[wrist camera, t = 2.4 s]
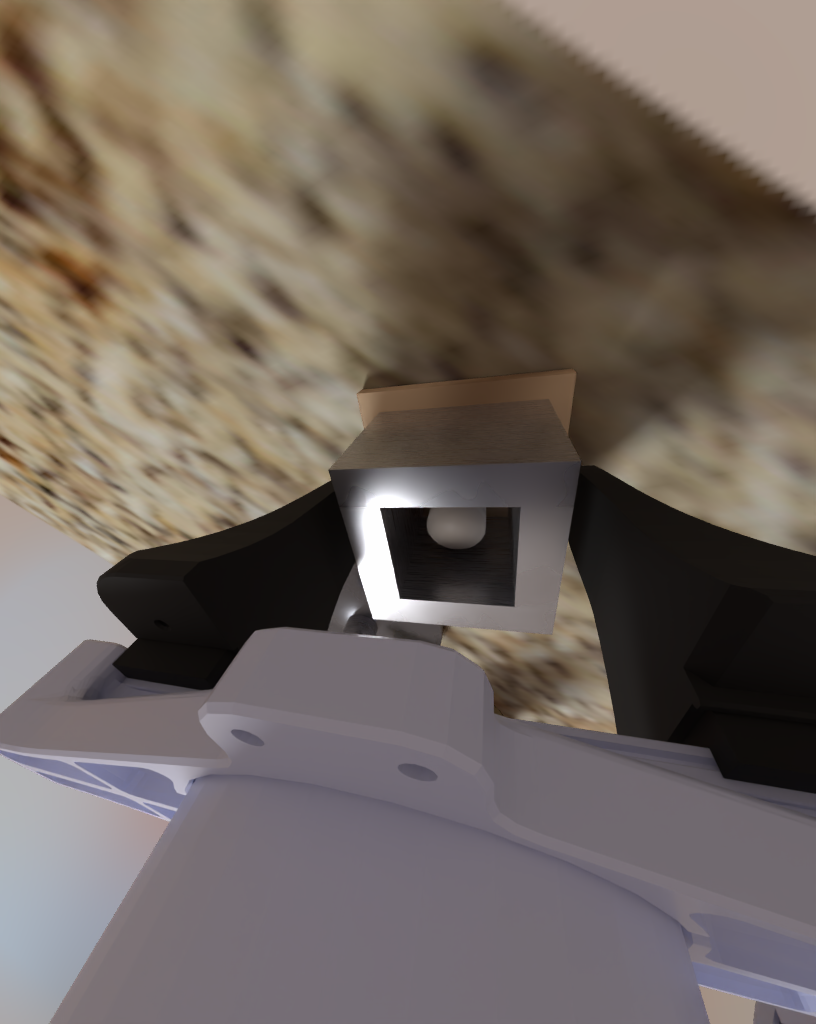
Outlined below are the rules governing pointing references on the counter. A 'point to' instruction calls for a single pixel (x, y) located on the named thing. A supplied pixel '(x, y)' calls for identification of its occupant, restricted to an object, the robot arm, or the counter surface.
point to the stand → (557, 386)
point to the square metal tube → (461, 483)
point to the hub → (358, 618)
